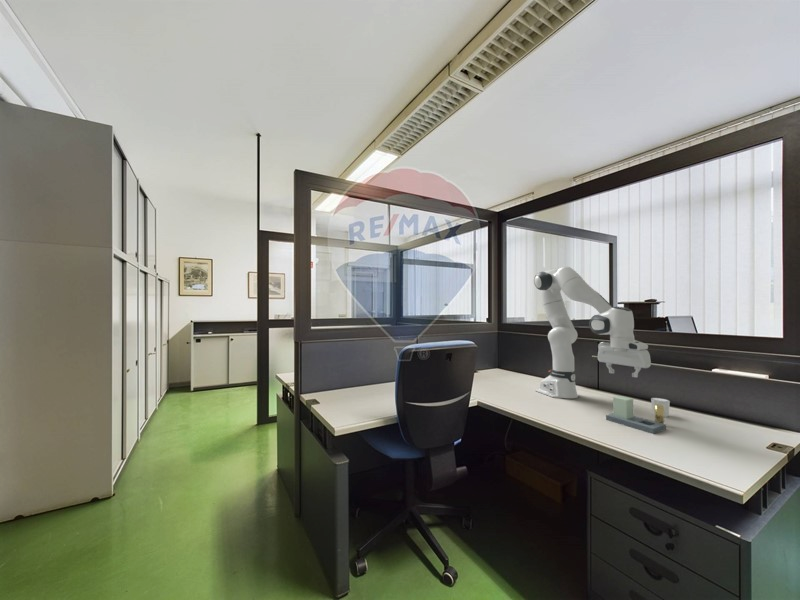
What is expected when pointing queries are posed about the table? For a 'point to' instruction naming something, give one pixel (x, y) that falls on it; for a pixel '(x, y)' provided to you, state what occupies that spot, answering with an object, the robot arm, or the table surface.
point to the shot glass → (661, 402)
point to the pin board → (638, 423)
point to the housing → (623, 407)
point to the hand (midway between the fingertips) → (622, 375)
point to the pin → (659, 413)
